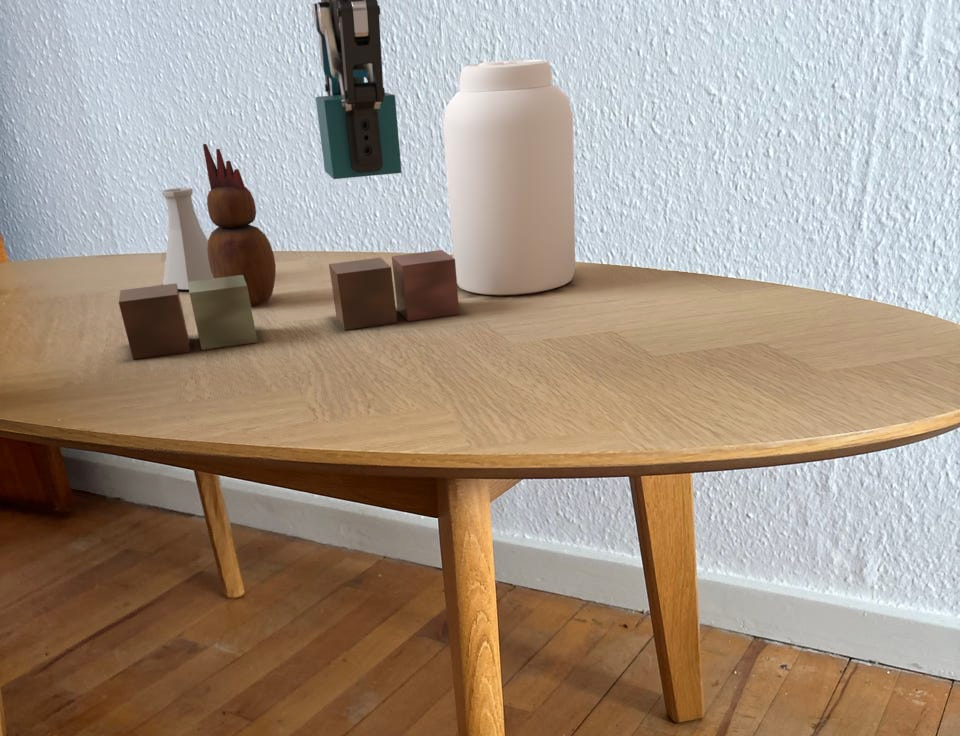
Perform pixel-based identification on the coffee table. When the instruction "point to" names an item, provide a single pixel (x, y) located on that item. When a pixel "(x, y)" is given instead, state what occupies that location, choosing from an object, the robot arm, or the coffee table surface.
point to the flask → (184, 241)
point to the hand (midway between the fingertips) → (361, 166)
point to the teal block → (337, 138)
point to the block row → (228, 313)
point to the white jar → (510, 179)
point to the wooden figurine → (237, 232)
